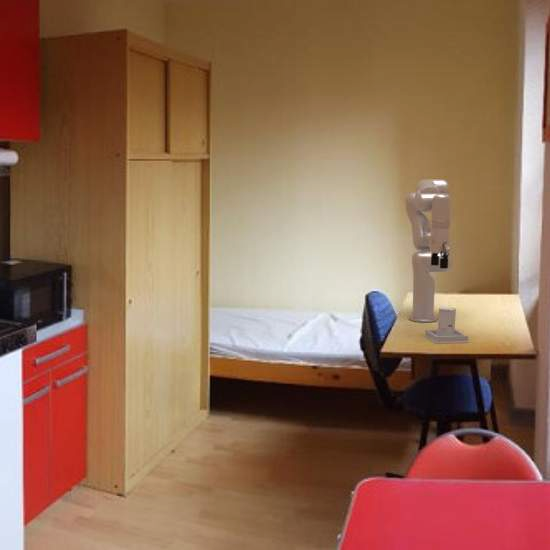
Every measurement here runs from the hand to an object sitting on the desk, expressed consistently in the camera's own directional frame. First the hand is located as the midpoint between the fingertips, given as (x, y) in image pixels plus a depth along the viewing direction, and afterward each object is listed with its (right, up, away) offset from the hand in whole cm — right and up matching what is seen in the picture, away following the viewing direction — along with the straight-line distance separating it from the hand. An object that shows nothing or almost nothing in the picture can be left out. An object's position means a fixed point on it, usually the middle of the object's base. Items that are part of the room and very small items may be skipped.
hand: (439, 266), depth 322 cm
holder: (+2, -29, -6) cm, 30 cm away
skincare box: (+2, -29, -6) cm, 30 cm away
